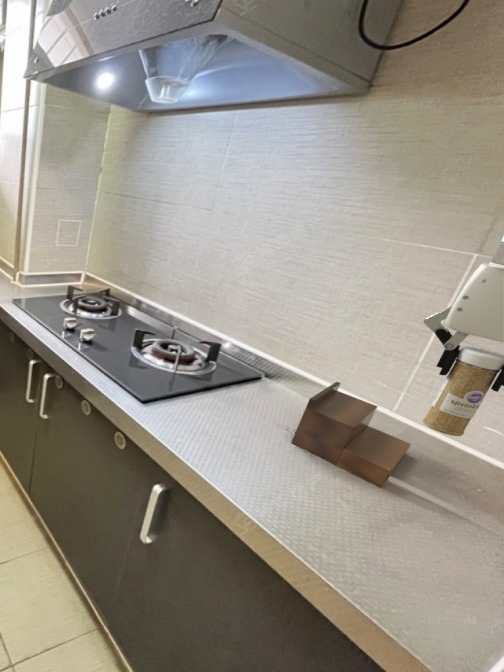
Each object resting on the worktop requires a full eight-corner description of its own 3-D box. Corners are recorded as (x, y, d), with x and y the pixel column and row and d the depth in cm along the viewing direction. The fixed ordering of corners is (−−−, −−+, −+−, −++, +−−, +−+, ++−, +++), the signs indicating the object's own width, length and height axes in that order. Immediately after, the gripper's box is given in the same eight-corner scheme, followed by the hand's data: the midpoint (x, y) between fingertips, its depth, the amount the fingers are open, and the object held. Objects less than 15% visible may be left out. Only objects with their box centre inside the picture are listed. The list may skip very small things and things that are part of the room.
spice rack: (402, 459, 82) (427, 415, 78) (380, 487, 73) (407, 439, 69) (318, 421, 93) (336, 381, 89) (290, 442, 84) (309, 398, 80)
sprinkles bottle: (444, 437, 59) (489, 357, 54) (413, 419, 64) (453, 344, 59) (471, 438, 60) (519, 359, 55) (439, 420, 64) (481, 345, 59)
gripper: (648, 272, 48) (561, 400, 54) (450, 247, 60) (399, 354, 67) (655, 277, 43) (560, 416, 50) (440, 250, 56) (387, 363, 63)
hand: (469, 379), depth 58 cm, fingers closed on sprinkles bottle, 4 cm apart
